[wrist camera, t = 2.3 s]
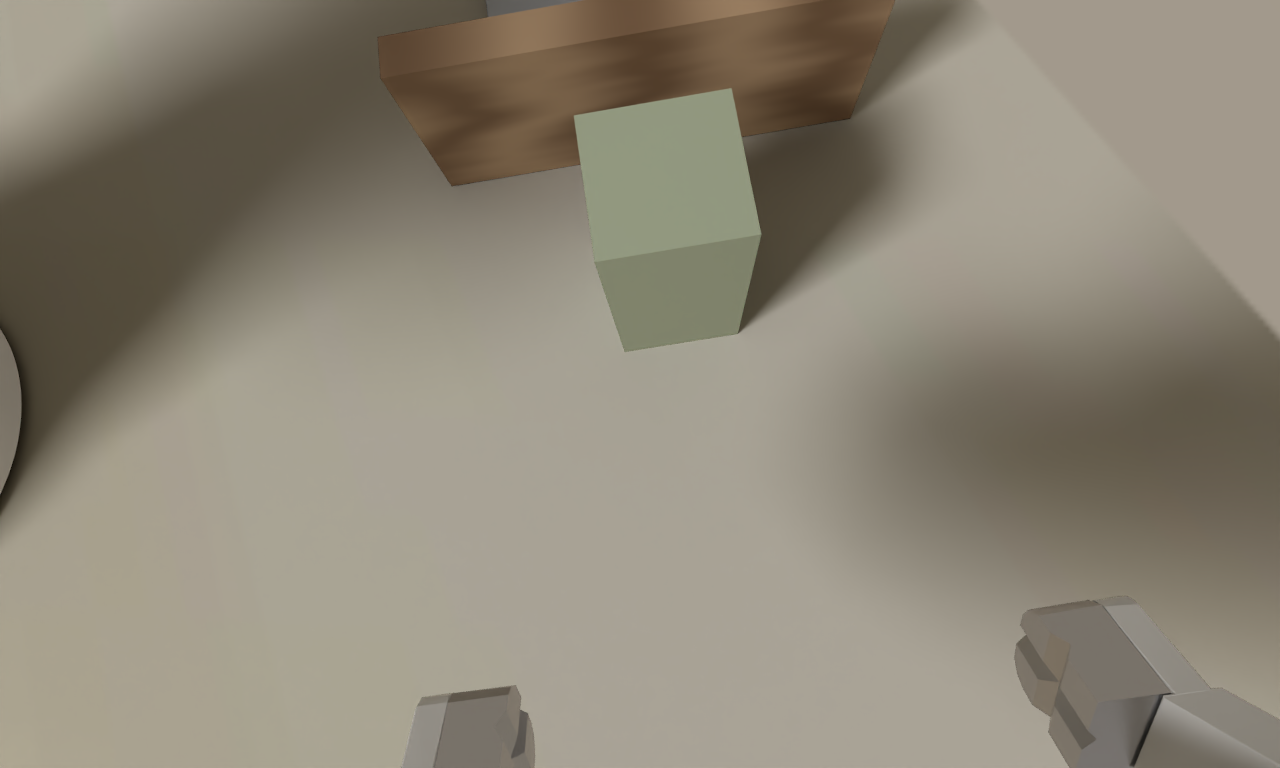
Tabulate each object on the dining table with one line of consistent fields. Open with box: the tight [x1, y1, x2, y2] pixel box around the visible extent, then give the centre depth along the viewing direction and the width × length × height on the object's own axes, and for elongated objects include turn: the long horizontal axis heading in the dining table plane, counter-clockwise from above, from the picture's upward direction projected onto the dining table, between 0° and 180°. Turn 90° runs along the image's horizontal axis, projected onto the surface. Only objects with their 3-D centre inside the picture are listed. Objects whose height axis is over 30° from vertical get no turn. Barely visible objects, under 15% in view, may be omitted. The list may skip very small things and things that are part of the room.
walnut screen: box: [378, 0, 895, 186], centre depth 26 cm, size 17×2×7 cm, turn 98°
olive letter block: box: [574, 88, 761, 352], centre depth 23 cm, size 4×5×9 cm
